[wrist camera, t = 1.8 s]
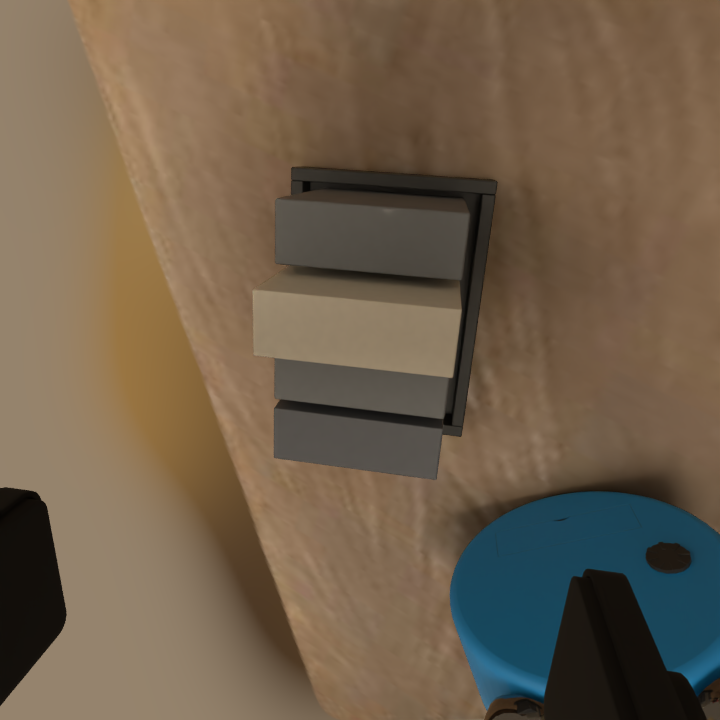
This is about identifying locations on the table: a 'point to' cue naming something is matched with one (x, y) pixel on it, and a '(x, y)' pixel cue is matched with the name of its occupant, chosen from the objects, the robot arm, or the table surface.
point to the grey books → (353, 384)
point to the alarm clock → (571, 558)
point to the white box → (358, 320)
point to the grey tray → (481, 213)
